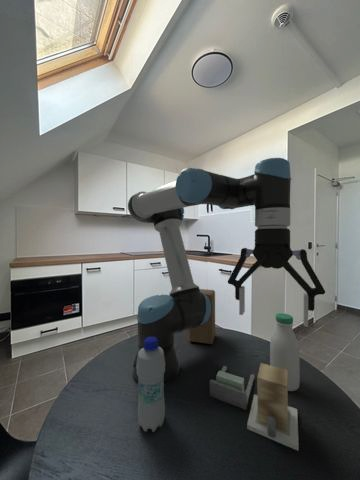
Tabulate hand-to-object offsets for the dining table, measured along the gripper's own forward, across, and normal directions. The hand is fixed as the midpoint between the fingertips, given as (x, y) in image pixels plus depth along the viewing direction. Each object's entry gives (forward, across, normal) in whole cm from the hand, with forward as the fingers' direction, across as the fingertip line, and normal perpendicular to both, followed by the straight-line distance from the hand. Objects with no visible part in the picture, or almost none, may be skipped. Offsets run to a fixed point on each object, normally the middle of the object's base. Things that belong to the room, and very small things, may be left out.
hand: (271, 318), depth 48 cm
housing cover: (+24, -10, +3) cm, 27 cm away
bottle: (+24, -24, -14) cm, 37 cm away
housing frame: (+24, -10, +6) cm, 27 cm away
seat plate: (+24, 0, 0) cm, 24 cm away
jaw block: (+23, 0, 0) cm, 23 cm away
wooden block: (+24, -29, +28) cm, 47 cm away
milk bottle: (+24, +2, +15) cm, 29 cm away
